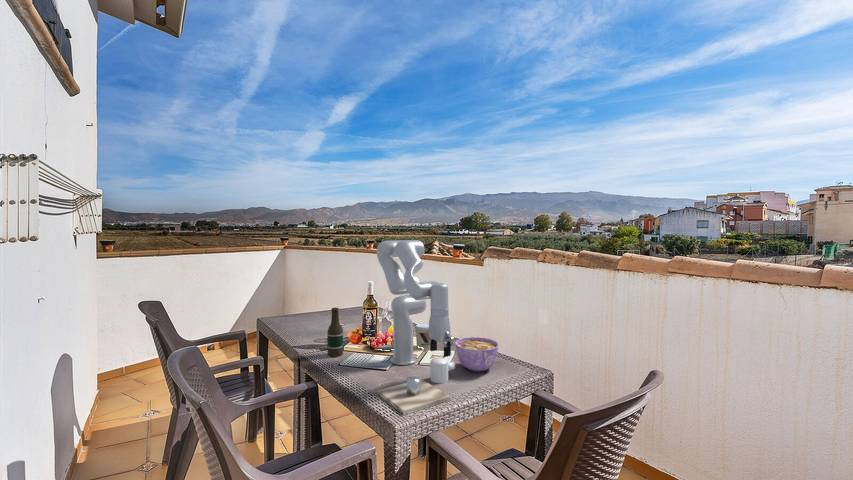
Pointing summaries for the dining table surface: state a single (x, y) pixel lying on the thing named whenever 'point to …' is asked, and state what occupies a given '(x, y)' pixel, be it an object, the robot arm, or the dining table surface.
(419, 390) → the beige flat square plate
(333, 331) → the beer bottle
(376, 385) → the dining table surface
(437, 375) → the elbow
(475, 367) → the bowl of food
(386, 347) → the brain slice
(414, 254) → the robot arm
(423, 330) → the coffee cup
